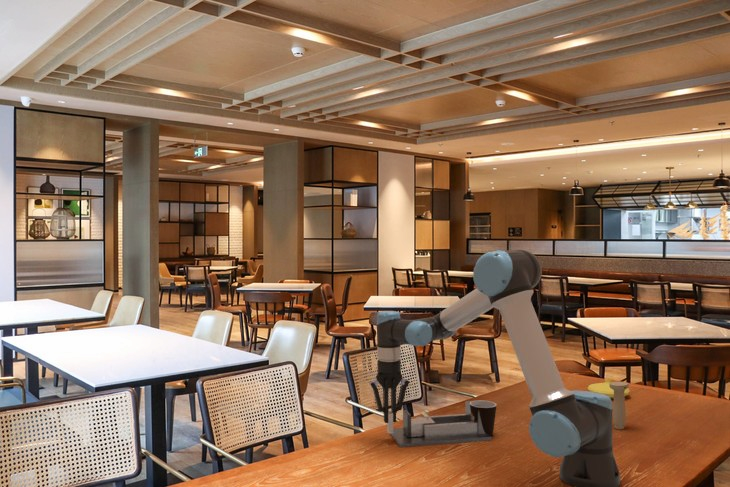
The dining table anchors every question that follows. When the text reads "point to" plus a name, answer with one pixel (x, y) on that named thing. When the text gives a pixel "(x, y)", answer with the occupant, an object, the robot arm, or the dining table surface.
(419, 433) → the grey bracket
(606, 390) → the yellow pot lid
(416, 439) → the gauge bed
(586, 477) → the robot arm
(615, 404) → the handle
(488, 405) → the coffee mug
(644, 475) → the dining table surface
